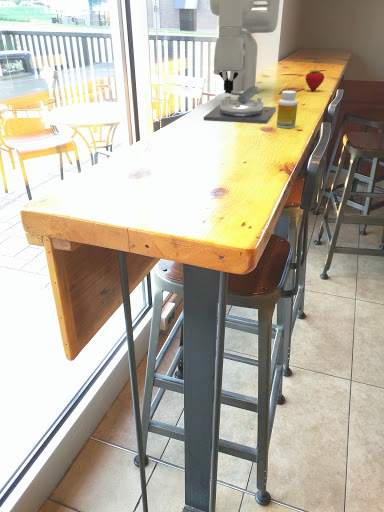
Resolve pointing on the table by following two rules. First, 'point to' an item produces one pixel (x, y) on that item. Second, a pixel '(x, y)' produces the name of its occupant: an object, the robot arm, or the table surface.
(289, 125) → the supplement bottle
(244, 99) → the grey disc with handle
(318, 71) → the strawberry
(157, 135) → the table surface
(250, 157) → the table surface
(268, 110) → the plate
